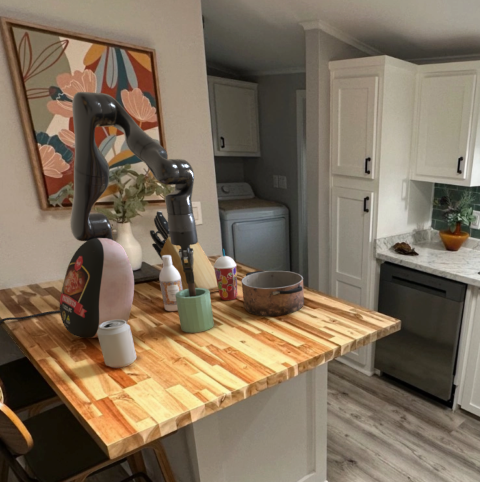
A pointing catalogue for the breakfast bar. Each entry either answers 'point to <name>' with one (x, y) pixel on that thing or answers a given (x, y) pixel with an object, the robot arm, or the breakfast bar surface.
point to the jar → (195, 310)
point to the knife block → (202, 265)
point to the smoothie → (226, 277)
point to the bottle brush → (191, 289)
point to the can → (116, 343)
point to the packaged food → (96, 287)
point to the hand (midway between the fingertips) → (190, 281)
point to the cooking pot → (272, 292)
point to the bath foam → (169, 283)
